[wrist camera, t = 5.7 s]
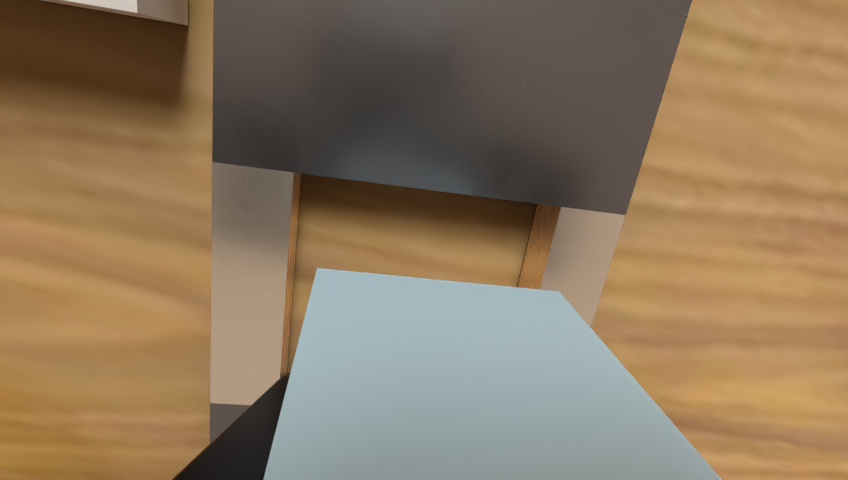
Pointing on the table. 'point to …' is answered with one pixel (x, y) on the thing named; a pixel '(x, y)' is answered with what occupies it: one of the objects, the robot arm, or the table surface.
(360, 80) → the plate
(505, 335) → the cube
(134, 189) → the table surface
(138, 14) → the stand
